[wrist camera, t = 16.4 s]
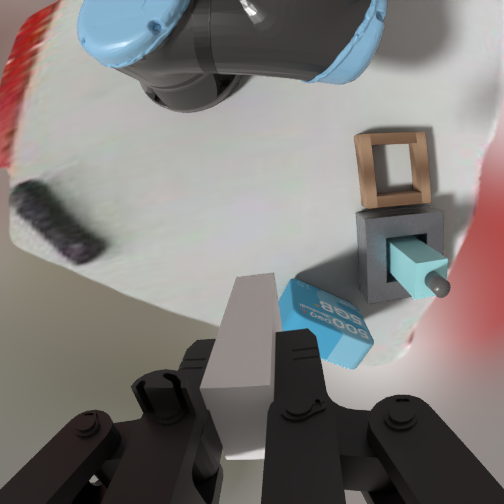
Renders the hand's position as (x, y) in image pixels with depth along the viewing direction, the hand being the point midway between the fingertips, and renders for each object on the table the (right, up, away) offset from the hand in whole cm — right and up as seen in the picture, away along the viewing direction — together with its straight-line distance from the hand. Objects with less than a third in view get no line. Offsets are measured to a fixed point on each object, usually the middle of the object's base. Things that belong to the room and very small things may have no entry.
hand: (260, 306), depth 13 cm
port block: (+21, +3, +31) cm, 38 cm away
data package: (+10, -6, +35) cm, 37 cm away
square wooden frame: (+19, +14, +28) cm, 37 cm away
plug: (+21, +2, +30) cm, 37 cm away
